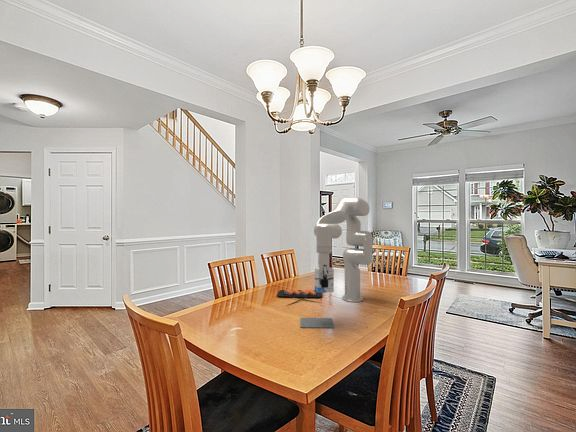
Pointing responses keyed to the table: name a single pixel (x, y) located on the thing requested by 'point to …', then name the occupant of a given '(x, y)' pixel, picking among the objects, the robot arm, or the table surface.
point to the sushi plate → (299, 294)
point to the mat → (316, 323)
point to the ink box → (318, 281)
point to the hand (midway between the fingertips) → (324, 285)
